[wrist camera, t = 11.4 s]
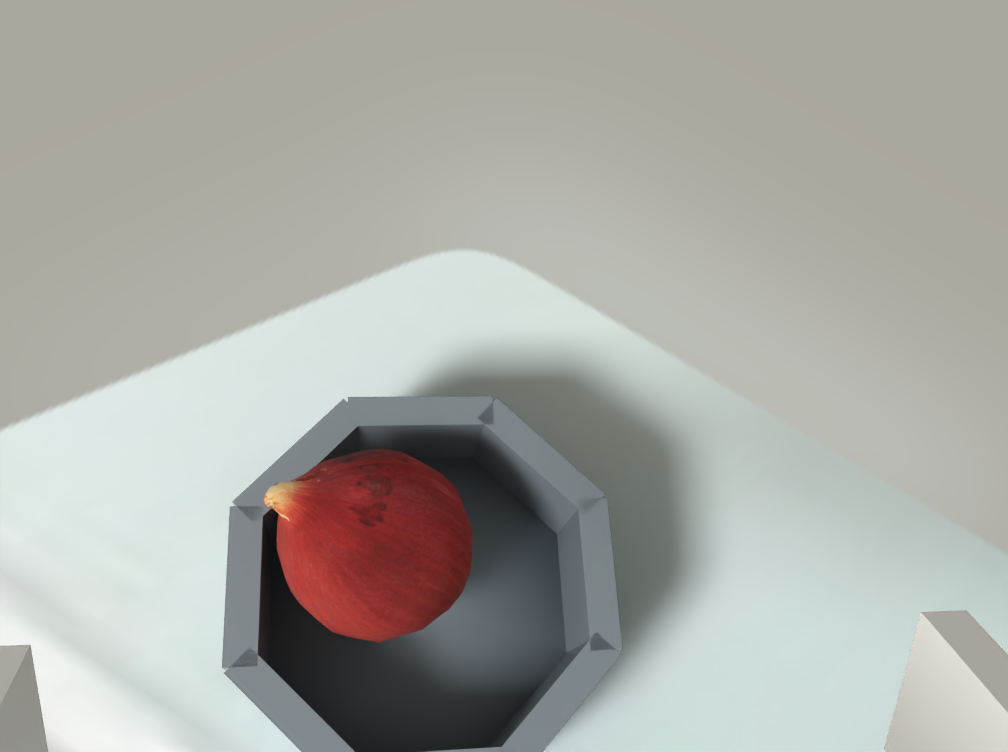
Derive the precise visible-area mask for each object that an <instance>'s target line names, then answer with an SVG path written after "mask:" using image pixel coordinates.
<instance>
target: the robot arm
mask: <svg viewBox="0 0 1008 752" xmlns="http://www.w3.org/2000/svg"><path fill="white" fill-rule="evenodd" d="M884 749H885V750H886V752H1008V655H1007V654H1006V652H1005V651H1004V650H1003V649H1002V648H1001V647H1000V646H999V645H998V644H997V643H996V642H995V641H994V640H993V639H992V637H991V636H990V635H989V634H988V633H987V632H986V631H985V630H984V629H983V628H982V627H981V626H980V625H979V623H978V622H977V621H976V620H975V619H974V618H973V617H972V616H971V615H970V614H969V613H968V612H967V611H940V612H921V615H920V619H919V622H918V626H917V630H916V633H915V637H914V641H913V644H912V648H911V652H910V655H909V659H908V663H907V666H906V670H905V674H904V677H903V681H902V685H901V688H900V692H899V696H898V699H897V703H896V707H895V710H894V714H893V718H892V721H891V725H890V729H889V732H888V736H887V740H886V744H885V747H884ZM0 752H48V748H47V742H46V736H45V730H44V724H43V718H42V712H41V706H40V700H39V694H38V688H37V682H36V676H35V670H34V664H33V658H32V652H31V646H30V645H16V646H0Z"/></svg>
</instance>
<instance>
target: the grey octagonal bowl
mask: <svg viewBox="0 0 1008 752" xmlns="http://www.w3.org/2000/svg"><path fill="white" fill-rule="evenodd" d="M367 449H388V450H393V451H398V452H403V453H405V454H407V455H409V456H411V457H413V458H415V459H417V460H419V461H421V462H423V463H425V464H426V465H428V466H430V467H431V468H433V469H435V470H436V471H438V472H440V473H441V474H442V475H443V476H444V477H445V478H446V479H447V480H448V481H449V482H451V483H452V484H453V485H454V486H455V487H456V488H457V490H458V492H459V495H460V498H461V500H462V503H463V505H464V508H465V511H466V513H467V516H468V519H469V522H470V525H471V527H472V530H473V544H472V562H471V572H470V575H469V577H468V580H467V582H466V585H465V588H464V590H463V593H462V594H461V595H460V596H459V598H458V599H457V600H456V601H455V603H454V604H453V605H452V606H451V608H450V609H449V610H448V611H446V612H445V613H443V614H442V615H441V616H439V617H438V618H437V619H435V620H434V621H433V622H432V623H430V624H429V625H428V626H426V627H425V628H424V629H423V630H420V631H416V632H413V633H410V634H406V635H403V636H400V637H396V638H393V639H389V640H385V641H382V642H375V641H369V640H363V639H356V638H351V637H348V636H344V635H341V634H337V633H334V632H332V631H331V630H329V629H328V628H327V627H326V626H324V625H323V624H322V623H321V622H319V621H318V620H317V619H316V618H315V617H314V616H313V615H311V614H310V613H309V612H308V611H307V610H306V609H305V608H304V607H303V606H302V605H300V603H299V602H298V600H297V599H296V598H295V596H294V595H293V593H292V592H291V590H290V588H289V586H288V583H287V581H286V579H285V576H284V572H283V569H282V566H281V562H280V559H279V555H278V551H277V522H278V516H279V514H278V513H277V512H276V511H275V510H274V509H272V508H269V507H266V505H265V504H264V502H263V500H264V496H265V494H266V492H267V491H268V489H269V488H270V487H271V486H273V485H275V484H276V483H278V482H288V481H292V480H294V479H296V478H298V477H299V476H301V475H304V474H305V473H306V472H308V471H309V470H310V469H312V468H313V467H314V466H316V465H318V464H320V463H321V462H323V461H325V460H330V459H334V458H338V457H341V456H344V455H347V454H350V453H354V452H358V451H363V450H367ZM604 494H605V493H603V492H602V491H601V490H600V489H599V488H598V487H597V486H596V485H594V484H593V483H592V482H591V481H590V480H589V479H588V478H587V477H585V476H584V475H583V474H582V473H581V472H580V471H579V470H578V469H576V468H575V467H574V466H573V465H572V464H571V463H570V462H569V461H567V460H566V459H565V458H564V457H563V456H562V455H561V454H560V453H558V452H557V451H556V450H555V449H554V448H553V447H552V446H551V445H549V444H548V443H547V442H546V441H545V440H544V439H543V438H542V437H540V436H539V435H538V434H537V433H536V432H535V431H534V430H533V429H531V428H530V427H529V426H528V425H527V424H526V423H525V422H524V421H522V420H521V419H520V418H519V417H518V416H517V415H516V414H515V413H513V412H512V411H511V410H510V409H509V408H508V407H507V406H506V405H504V404H503V403H502V402H501V401H500V400H499V399H498V398H496V399H495V400H494V401H493V396H450V397H348V402H346V401H345V400H344V399H343V400H342V401H341V402H340V403H339V404H337V405H336V406H335V407H334V408H333V409H332V410H331V411H330V412H329V413H328V414H327V415H326V416H325V417H323V418H322V419H321V420H320V421H319V422H318V423H317V424H316V425H315V426H314V427H313V428H312V429H310V430H309V431H308V432H307V433H306V434H305V435H304V436H303V437H302V438H301V439H300V440H299V441H297V442H296V443H295V444H294V445H293V446H292V447H291V448H290V449H289V450H288V451H287V452H286V453H285V454H283V455H282V456H281V457H280V458H279V459H278V460H277V461H276V462H275V463H274V464H273V465H272V466H270V467H269V468H268V469H267V470H266V471H265V472H264V473H263V474H262V475H261V476H260V477H259V478H258V479H256V480H255V481H254V482H253V483H252V484H251V485H250V486H249V487H248V488H247V489H246V490H245V491H243V492H242V493H241V494H240V495H239V496H238V497H237V498H236V499H235V500H234V501H233V502H232V503H233V505H234V506H233V507H230V516H229V536H228V556H227V576H226V597H225V617H224V637H223V657H222V668H223V669H224V670H226V671H225V672H224V674H225V675H226V676H227V677H228V678H229V679H230V680H231V681H232V682H233V683H234V684H235V685H236V686H237V687H238V688H239V689H240V690H241V691H242V692H243V693H244V694H245V695H246V696H247V697H248V698H249V699H250V700H251V701H252V702H253V703H254V704H255V705H256V706H257V707H258V708H259V709H260V710H261V711H262V712H263V713H264V714H265V715H266V716H267V717H268V718H269V719H270V720H271V721H272V722H273V723H274V724H275V725H276V726H277V727H278V728H279V729H280V730H281V731H282V732H283V733H284V734H285V735H286V736H287V737H288V738H289V739H290V740H291V741H292V742H293V743H294V745H295V746H296V747H297V748H298V749H299V750H300V751H301V752H543V751H544V750H545V748H546V747H547V746H548V745H549V743H550V742H551V741H552V740H553V738H554V737H555V736H556V735H557V733H558V732H559V731H560V730H561V728H562V727H563V726H564V725H565V723H566V722H567V721H568V720H569V718H570V717H571V716H572V715H573V713H574V712H575V711H576V710H577V709H578V707H579V706H580V705H581V704H582V702H583V701H584V700H585V699H586V697H587V696H588V695H589V694H590V692H591V691H592V690H593V689H594V687H595V686H596V685H597V684H598V682H599V681H600V680H601V679H602V677H603V676H604V675H605V674H606V672H607V671H608V670H609V669H610V667H611V666H612V665H613V664H614V662H615V661H616V660H617V659H618V657H619V656H620V655H621V654H620V653H619V652H618V651H620V650H622V640H621V630H620V620H619V610H618V600H617V590H616V580H615V571H614V561H613V551H612V541H611V531H610V521H609V511H608V501H607V498H602V497H603V496H604Z"/></svg>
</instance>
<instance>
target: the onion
mask: <svg viewBox="0 0 1008 752" xmlns="http://www.w3.org/2000/svg"><path fill="white" fill-rule="evenodd" d="M263 502H264V504H265V505H266V507H269V508H272V509H274V510H275V511H276V512H277V513H278V514H279V516H278V522H277V551H278V555H279V559H280V562H281V566H282V569H283V572H284V576H285V579H286V581H287V583H288V586H289V588H290V590H291V592H292V593H293V595H294V596H295V598H296V599H297V600H298V602H299V603H300V605H302V606H303V607H304V608H305V609H306V610H307V611H308V612H309V613H310V614H311V615H313V616H314V617H315V618H316V619H317V620H318V621H319V622H321V623H322V624H323V625H324V626H326V627H327V628H328V629H329V630H331V631H332V632H334V633H337V634H341V635H344V636H348V637H351V638H356V639H363V640H369V641H375V642H382V641H385V640H389V639H393V638H396V637H400V636H403V635H406V634H410V633H413V632H416V631H420V630H423V629H424V628H425V627H426V626H428V625H429V624H430V623H432V622H433V621H434V620H435V619H437V618H438V617H439V616H441V615H442V614H443V613H445V612H446V611H448V610H449V609H450V608H451V606H452V605H453V604H454V603H455V601H456V600H457V599H458V598H459V596H460V595H461V594H462V593H463V590H464V588H465V585H466V582H467V580H468V577H469V575H470V572H471V562H472V544H473V530H472V527H471V525H470V522H469V519H468V516H467V513H466V511H465V508H464V505H463V503H462V500H461V498H460V495H459V492H458V490H457V488H456V487H455V486H454V485H453V484H452V483H451V482H449V481H448V480H447V479H446V478H445V477H444V476H443V475H442V474H441V473H440V472H438V471H436V470H435V469H433V468H431V467H430V466H428V465H426V464H425V463H423V462H421V461H419V460H417V459H415V458H413V457H411V456H409V455H407V454H405V453H403V452H398V451H393V450H388V449H367V450H363V451H358V452H354V453H350V454H347V455H344V456H341V457H338V458H334V459H330V460H325V461H323V462H321V463H320V464H318V465H316V466H314V467H313V468H312V469H310V470H309V471H308V472H306V473H305V474H304V475H301V476H299V477H298V478H296V479H294V480H292V481H288V482H278V483H276V484H275V485H273V486H271V487H270V488H269V489H268V491H267V492H266V494H265V496H264V500H263Z"/></svg>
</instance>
